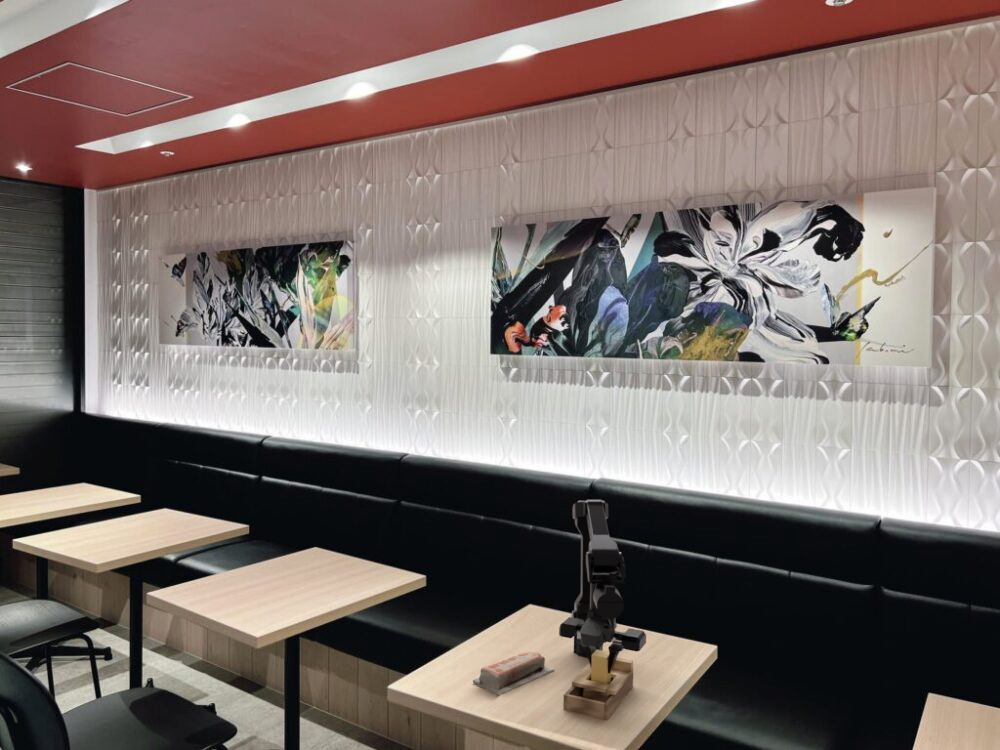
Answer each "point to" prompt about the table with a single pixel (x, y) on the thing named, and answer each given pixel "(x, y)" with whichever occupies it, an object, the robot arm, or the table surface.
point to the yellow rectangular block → (600, 667)
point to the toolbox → (595, 700)
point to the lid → (619, 673)
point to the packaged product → (512, 672)
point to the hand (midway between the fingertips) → (601, 671)
